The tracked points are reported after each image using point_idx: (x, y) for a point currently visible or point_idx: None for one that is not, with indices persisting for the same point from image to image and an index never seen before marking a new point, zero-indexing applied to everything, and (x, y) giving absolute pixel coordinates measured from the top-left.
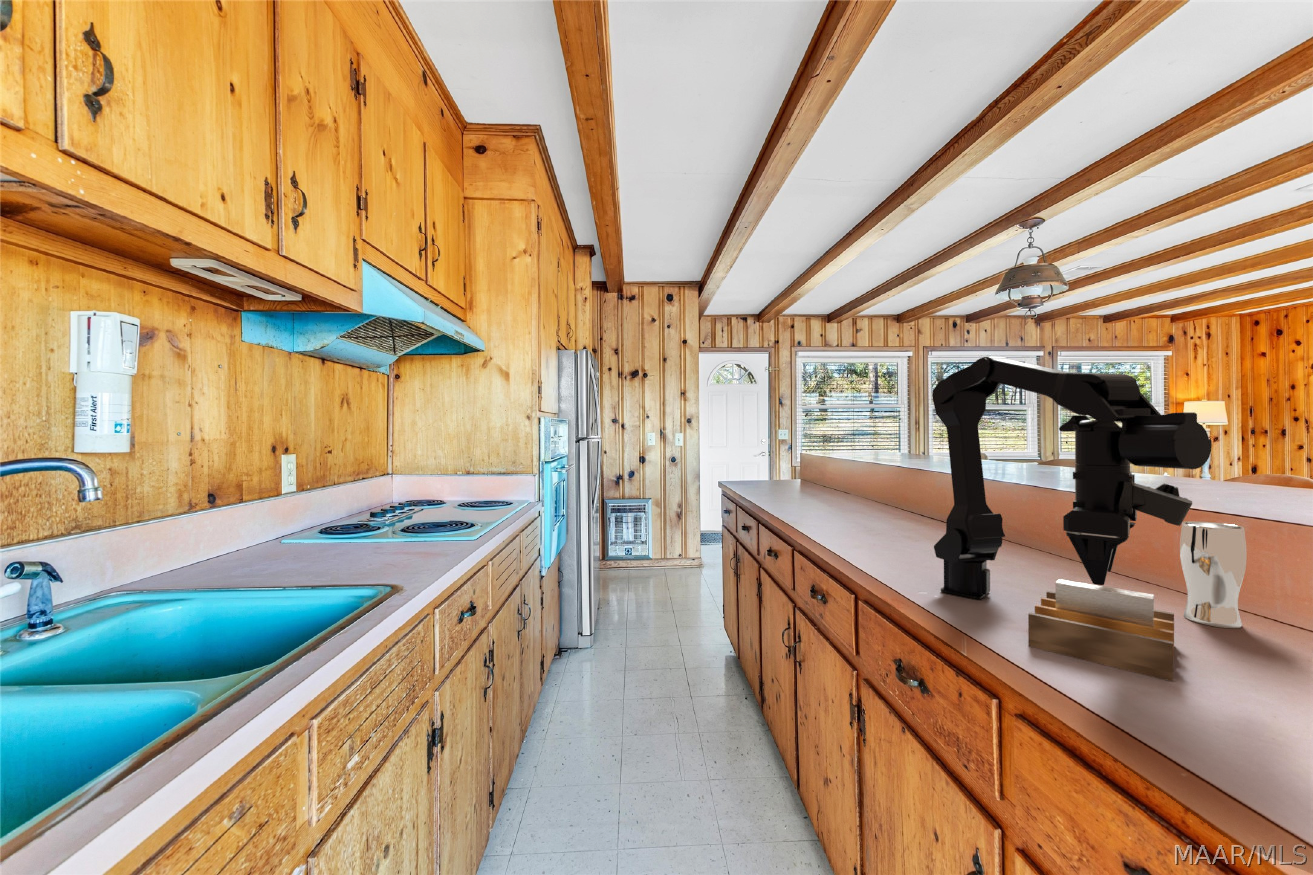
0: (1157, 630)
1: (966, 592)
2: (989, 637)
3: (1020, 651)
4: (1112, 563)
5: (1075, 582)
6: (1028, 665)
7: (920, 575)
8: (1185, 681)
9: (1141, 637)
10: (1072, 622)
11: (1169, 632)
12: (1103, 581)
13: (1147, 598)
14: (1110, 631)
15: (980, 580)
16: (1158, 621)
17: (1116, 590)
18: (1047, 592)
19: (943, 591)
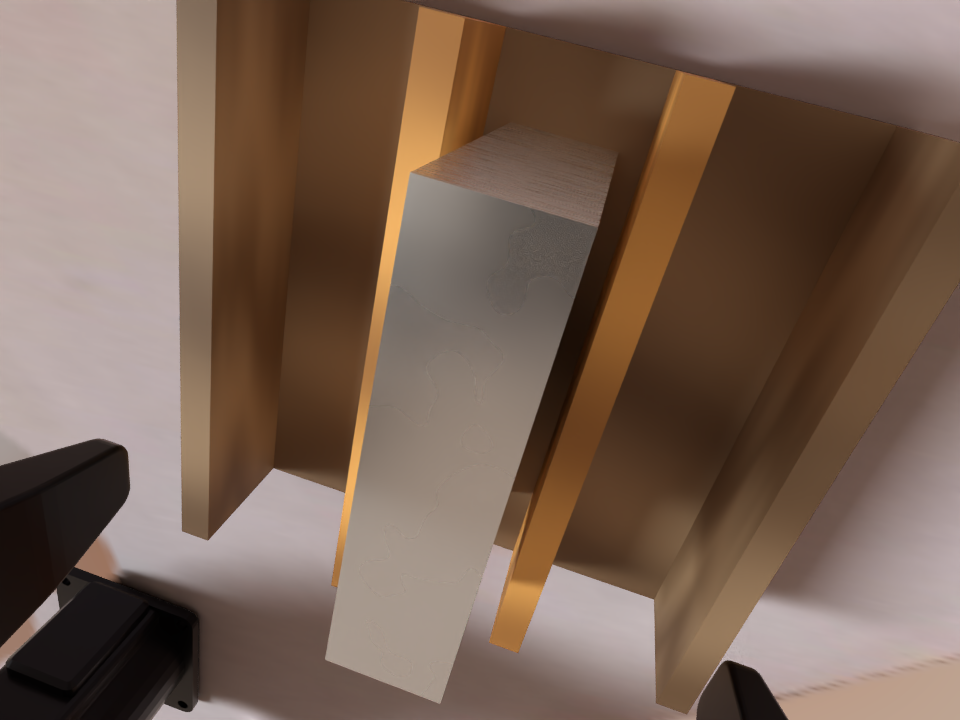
0: (697, 173)
1: (177, 656)
2: (638, 674)
3: (757, 620)
4: (59, 482)
5: (356, 601)
6: (920, 633)
7: None
8: (887, 64)
9: (930, 320)
10: (754, 582)
11: (725, 108)
12: (777, 709)
13: (585, 264)
14: (851, 450)
15: (112, 666)
16: (448, 106)
17: (437, 424)
18: (209, 534)
19: (196, 701)
